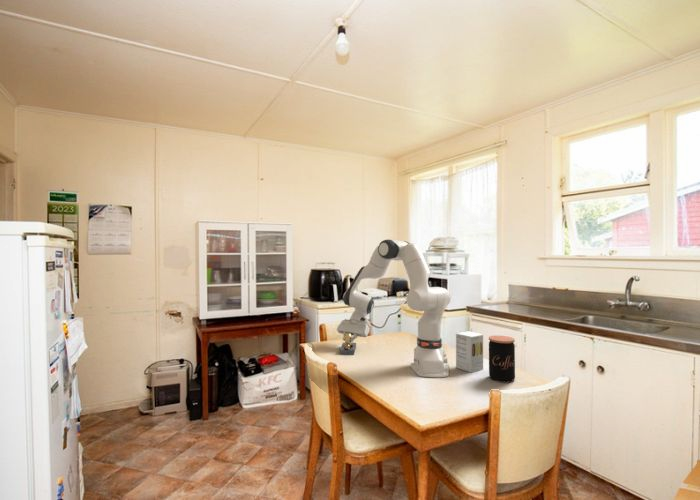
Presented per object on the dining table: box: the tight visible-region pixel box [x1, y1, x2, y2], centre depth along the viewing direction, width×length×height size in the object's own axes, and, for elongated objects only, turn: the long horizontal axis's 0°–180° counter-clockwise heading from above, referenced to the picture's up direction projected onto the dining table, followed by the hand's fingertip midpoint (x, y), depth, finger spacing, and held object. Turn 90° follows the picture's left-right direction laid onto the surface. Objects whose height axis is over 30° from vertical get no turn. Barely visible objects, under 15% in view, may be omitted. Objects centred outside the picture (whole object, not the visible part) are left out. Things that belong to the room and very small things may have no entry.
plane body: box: [339, 342, 357, 356], centre depth 203 cm, size 16×8×5 cm, turn 174°
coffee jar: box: [488, 335, 516, 383], centre depth 157 cm, size 11×11×18 cm
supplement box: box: [455, 330, 484, 373], centre depth 171 cm, size 10×9×17 cm
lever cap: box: [344, 333, 352, 348], centre depth 203 cm, size 4×4×10 cm
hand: (347, 340), depth 202 cm, fingers closed on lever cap, 4 cm apart
